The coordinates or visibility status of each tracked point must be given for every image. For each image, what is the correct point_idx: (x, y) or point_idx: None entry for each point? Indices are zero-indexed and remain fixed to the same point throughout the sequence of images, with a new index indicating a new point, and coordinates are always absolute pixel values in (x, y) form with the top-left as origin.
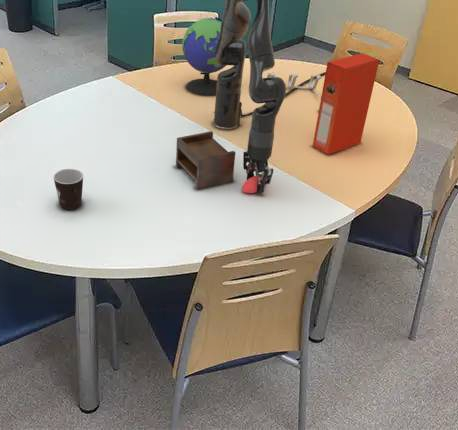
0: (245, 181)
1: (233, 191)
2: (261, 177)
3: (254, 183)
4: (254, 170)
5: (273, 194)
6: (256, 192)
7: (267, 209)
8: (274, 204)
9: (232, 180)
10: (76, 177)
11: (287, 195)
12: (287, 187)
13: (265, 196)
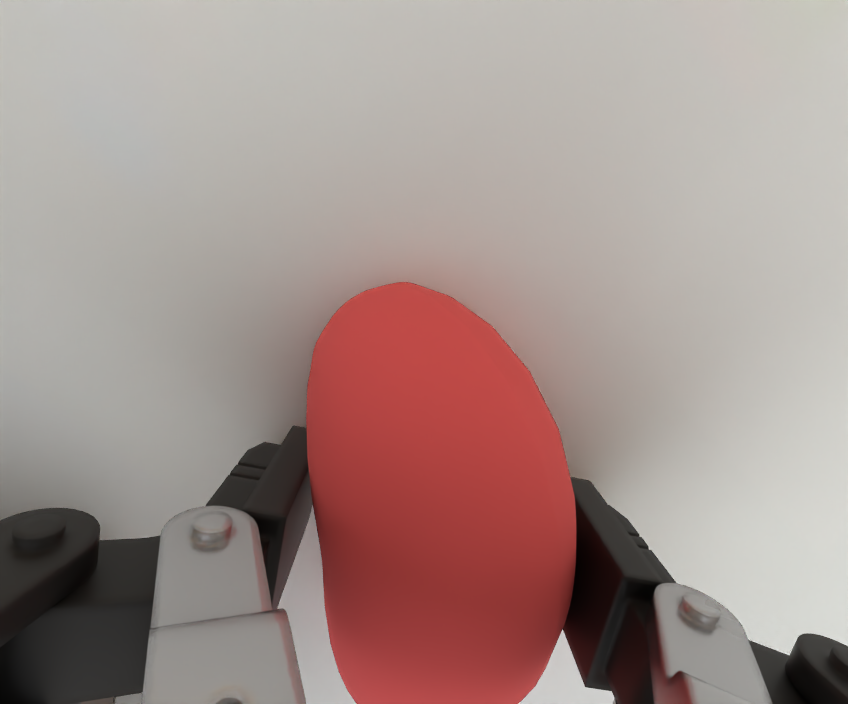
0: (349, 692)
1: (311, 675)
2: (506, 529)
3: (529, 691)
4: (263, 592)
5: (658, 343)
6: None
7: (803, 615)
8: (804, 491)
9: None
10: None
11: (809, 198)
12: (680, 11)
13: (619, 459)
